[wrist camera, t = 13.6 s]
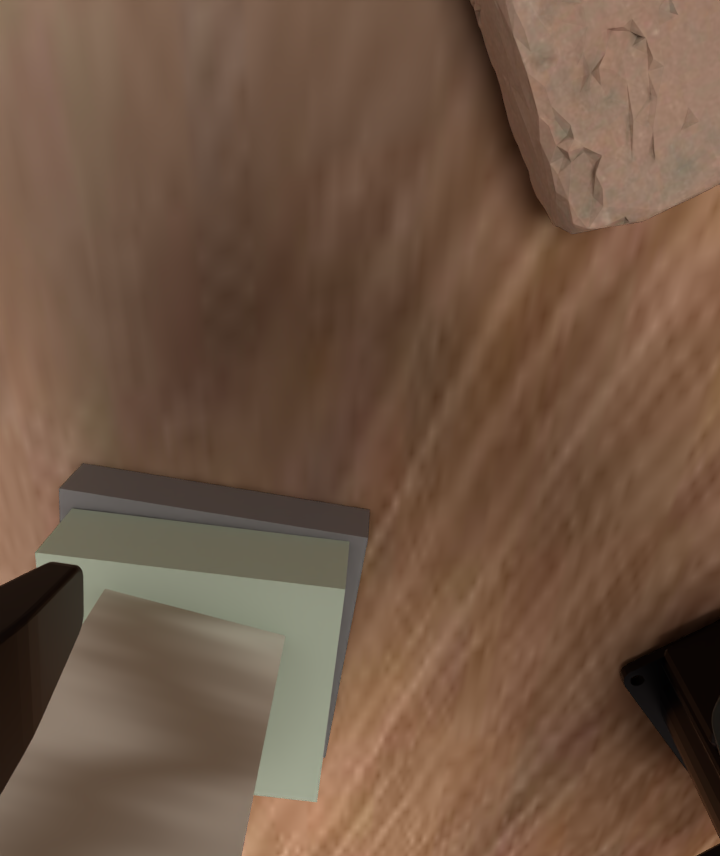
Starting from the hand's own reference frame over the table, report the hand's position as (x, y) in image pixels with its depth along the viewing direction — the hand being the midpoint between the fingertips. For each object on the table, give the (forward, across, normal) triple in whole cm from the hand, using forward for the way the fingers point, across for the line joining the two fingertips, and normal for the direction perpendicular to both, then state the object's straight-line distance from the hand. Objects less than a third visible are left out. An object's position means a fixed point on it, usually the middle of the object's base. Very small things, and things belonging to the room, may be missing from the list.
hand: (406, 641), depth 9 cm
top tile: (+11, +5, +10) cm, 16 cm away
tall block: (+9, +5, +10) cm, 14 cm away
